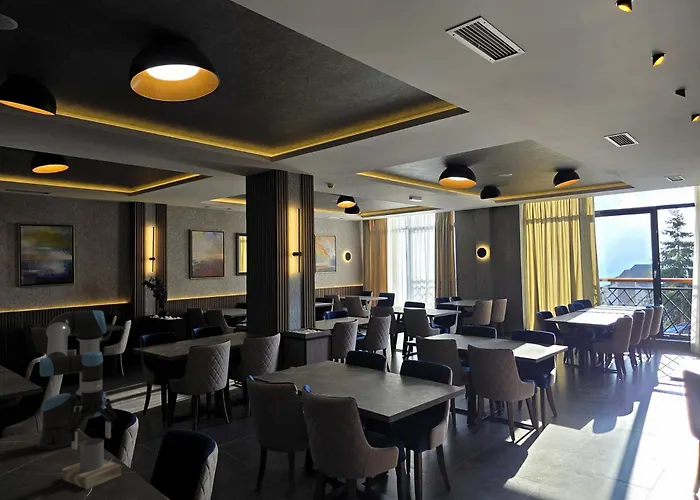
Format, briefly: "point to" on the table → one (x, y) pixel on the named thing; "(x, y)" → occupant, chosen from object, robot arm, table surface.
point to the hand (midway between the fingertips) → (91, 443)
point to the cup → (91, 454)
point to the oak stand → (91, 474)
